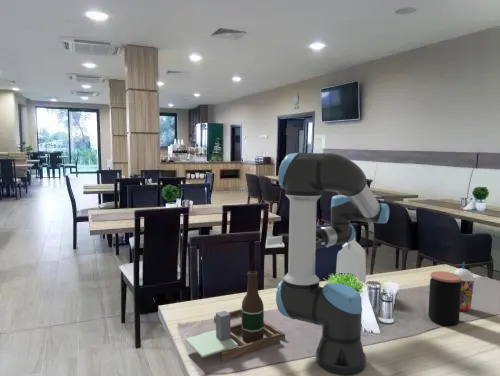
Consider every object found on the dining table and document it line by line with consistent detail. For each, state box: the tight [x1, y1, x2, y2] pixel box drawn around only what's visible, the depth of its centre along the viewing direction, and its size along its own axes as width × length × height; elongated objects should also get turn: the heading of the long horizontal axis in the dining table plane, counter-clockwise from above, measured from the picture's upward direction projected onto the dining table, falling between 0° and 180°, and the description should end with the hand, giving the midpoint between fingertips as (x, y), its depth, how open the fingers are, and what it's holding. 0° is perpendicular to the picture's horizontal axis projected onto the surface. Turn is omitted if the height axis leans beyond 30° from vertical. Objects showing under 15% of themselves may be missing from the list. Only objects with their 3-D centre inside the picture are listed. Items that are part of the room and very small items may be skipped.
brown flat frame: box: [213, 308, 286, 364], centre depth 136 cm, size 27×26×3 cm
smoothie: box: [453, 261, 475, 312], centre depth 158 cm, size 8×8×20 cm
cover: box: [184, 310, 239, 358], centre depth 123 cm, size 13×13×9 cm
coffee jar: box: [427, 270, 461, 327], centre depth 147 cm, size 11×11×18 cm
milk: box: [335, 237, 367, 283], centre depth 178 cm, size 12×12×26 cm
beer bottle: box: [241, 270, 265, 344], centre depth 132 cm, size 8×8×24 cm
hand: (278, 245), depth 137 cm, fingers open, 12 cm apart
